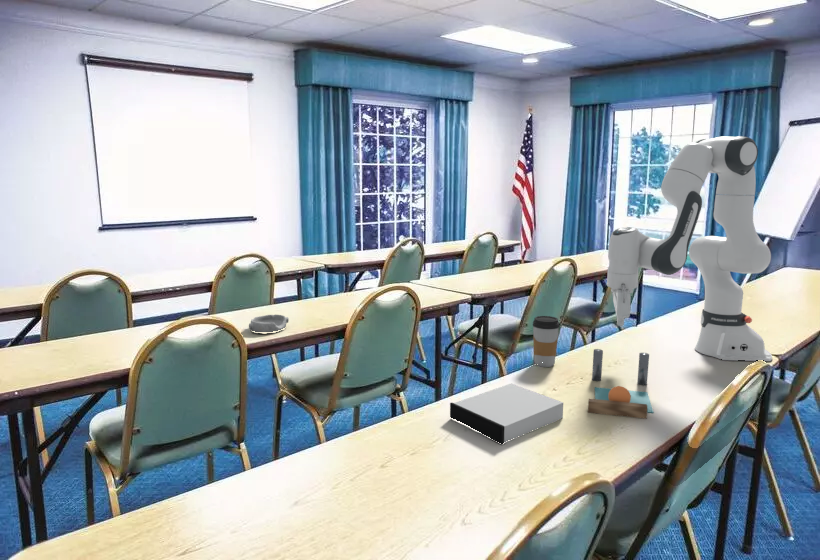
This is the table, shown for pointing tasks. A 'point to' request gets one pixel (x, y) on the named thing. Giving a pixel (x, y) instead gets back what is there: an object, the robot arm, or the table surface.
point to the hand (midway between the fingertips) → (620, 324)
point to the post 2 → (643, 368)
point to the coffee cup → (545, 340)
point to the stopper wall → (617, 408)
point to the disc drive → (507, 412)
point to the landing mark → (635, 395)
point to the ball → (619, 394)
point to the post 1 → (597, 364)
